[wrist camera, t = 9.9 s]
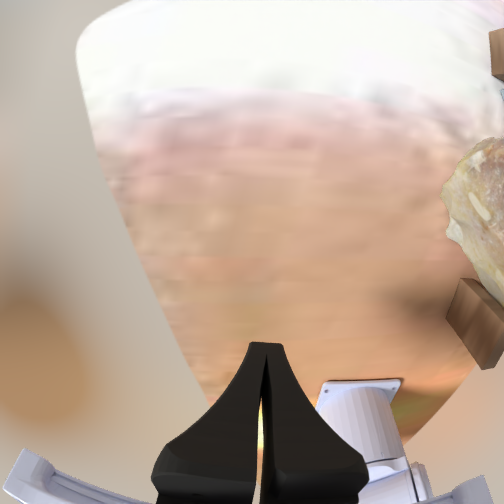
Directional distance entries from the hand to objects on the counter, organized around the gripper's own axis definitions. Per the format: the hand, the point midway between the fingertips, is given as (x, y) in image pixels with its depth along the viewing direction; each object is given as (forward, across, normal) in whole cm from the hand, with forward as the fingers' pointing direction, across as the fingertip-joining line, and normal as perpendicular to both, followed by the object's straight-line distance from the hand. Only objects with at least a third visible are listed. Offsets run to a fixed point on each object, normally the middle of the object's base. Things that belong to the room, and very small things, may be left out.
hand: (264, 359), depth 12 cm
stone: (+4, -22, -7) cm, 23 cm away
